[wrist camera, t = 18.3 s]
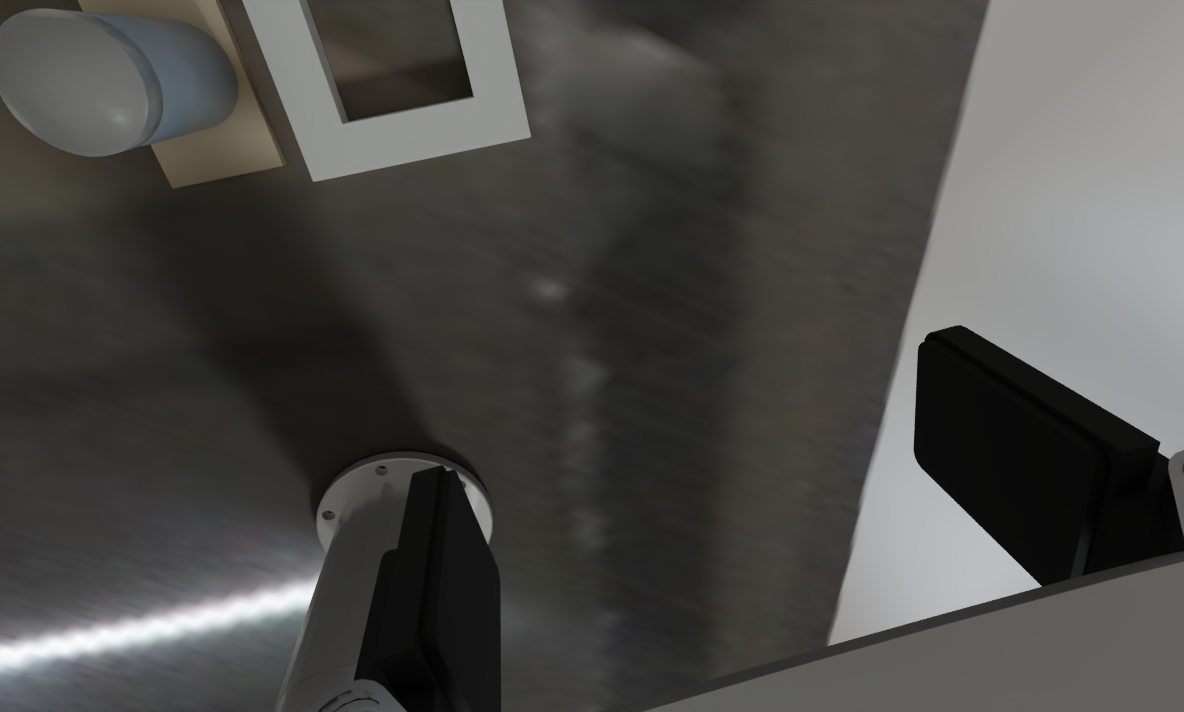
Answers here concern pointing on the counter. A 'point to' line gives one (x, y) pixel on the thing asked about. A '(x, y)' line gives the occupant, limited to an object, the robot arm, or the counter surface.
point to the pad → (234, 141)
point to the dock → (394, 135)
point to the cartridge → (112, 79)
